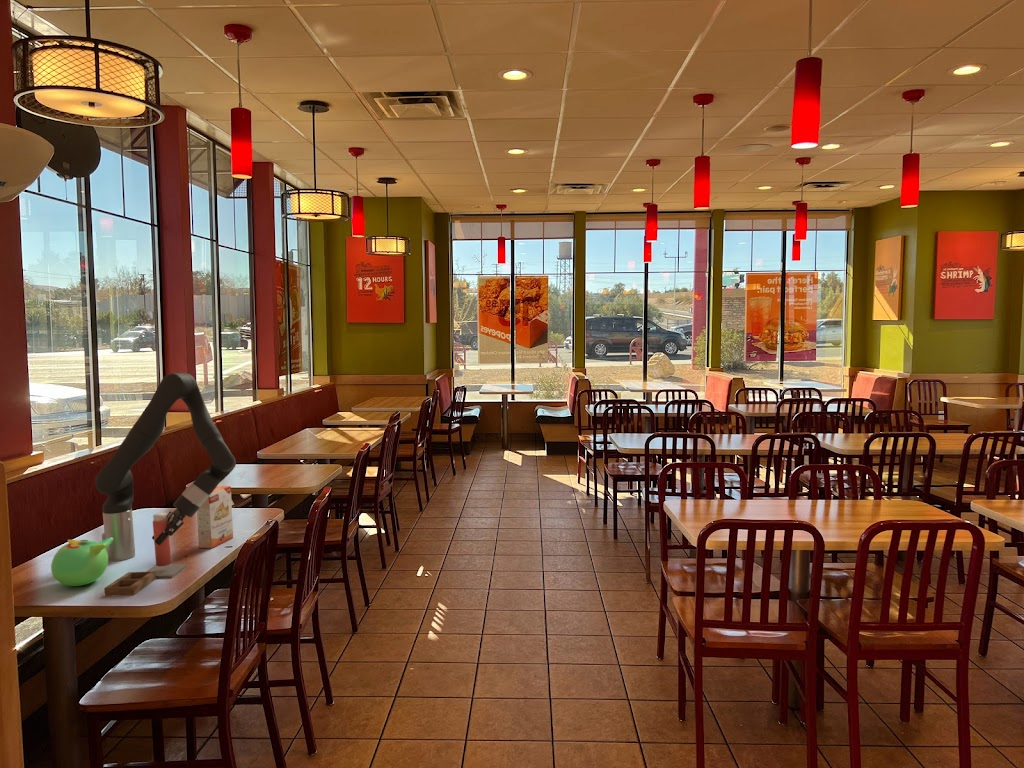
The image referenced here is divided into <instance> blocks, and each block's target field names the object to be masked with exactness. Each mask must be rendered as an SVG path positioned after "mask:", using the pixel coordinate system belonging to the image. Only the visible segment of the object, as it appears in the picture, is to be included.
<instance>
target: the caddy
mask: <svg viewBox="0 0 1024 768" xmlns="http://www.w3.org/2000/svg"><path fill="white" fill-rule="evenodd" d="M155 580H157V578H156V571H154V572H146V571H130V572H129V571H128V572H126V573H125V574H124V575H122V576H121V577H119V578H117V579H116V580H114V581H112V582H110V584H108V585H107V586H105V587H104V588H103V589H104V597H113V596H112V595H119V596H135V595H136V594H138V593H139V592H141V591H142V590H143V589H145V588H146V587H147V586H149V585H150V584H151V583H152V582H155ZM148 584H149V585H148Z"/></svg>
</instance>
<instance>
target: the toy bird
mask: <svg viewBox="0 0 1024 768" xmlns="http://www.w3.org/2000/svg"><path fill="white" fill-rule="evenodd" d="M112 541H113V538H112V537H110V538H108V539H106V540H104V541H102V540H101V541H100V542H97V541H94V540H88V539H80V540H76V539H67V544H65V545H64V546H62V547H61V548H59V549H58V551H56V553H55V554H54V556H53V558H52V561H51V565H50V567H51V568H50V570H51V574H52V577H53V578H54V580H55V581H57V582H58V583H60V584H62V585H65V586H69V587H80V586H85V585H89V584H92V583H93V582H95V581H97V580H99V578H101V576H102V575H103V574H104V573H105V571H106V570H107V567H108V563H109V561H108V554H107V551H106V550H107V548H108V547H109V545H110V544H111V543H112Z"/></svg>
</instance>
